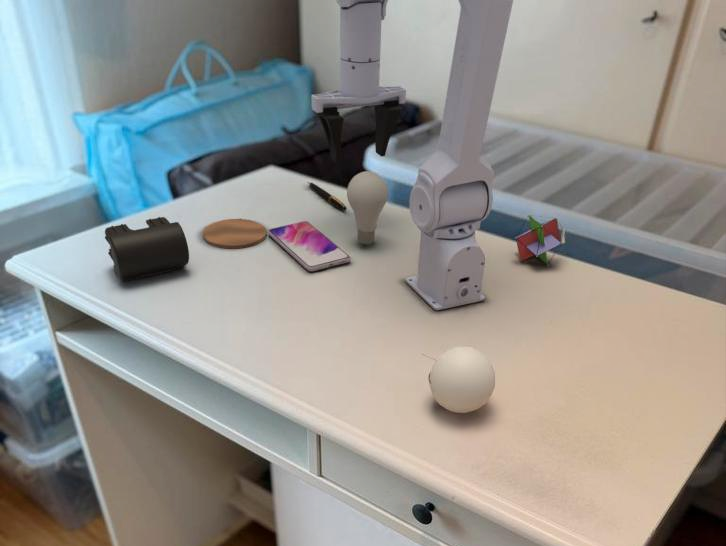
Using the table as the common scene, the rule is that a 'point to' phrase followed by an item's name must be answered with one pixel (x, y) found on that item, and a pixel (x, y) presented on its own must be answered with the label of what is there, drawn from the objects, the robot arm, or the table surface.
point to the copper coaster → (234, 233)
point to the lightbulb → (367, 203)
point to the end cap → (147, 248)
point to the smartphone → (309, 246)
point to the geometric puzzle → (539, 239)
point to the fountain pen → (328, 197)
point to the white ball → (462, 379)
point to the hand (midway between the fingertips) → (358, 157)
